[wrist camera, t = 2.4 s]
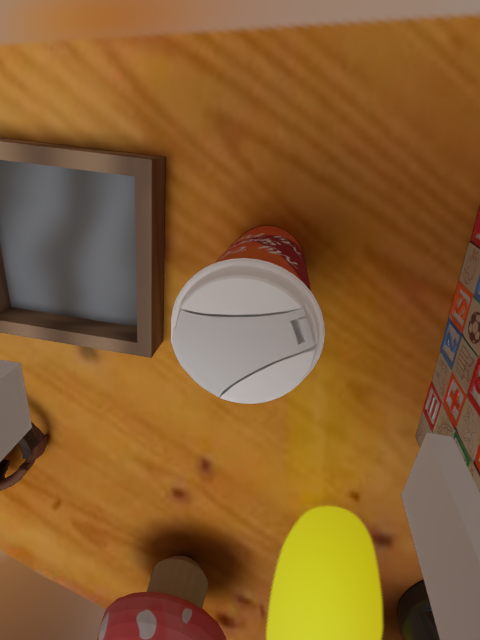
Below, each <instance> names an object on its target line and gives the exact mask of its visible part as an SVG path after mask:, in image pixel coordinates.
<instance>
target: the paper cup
mask: <svg viewBox="0 0 480 640" xmlns="http://www.w3.org/2000/svg"><path fill="white" fill-rule="evenodd" d="M324 338H325V328H324V321H323V316H322V312H321V310H320V307H319V304H318V302H317V301H316V299H315V297H314V295H313V294H312V292H311V289H310V284H309V279H308V274H307V269H306V265H305V261H304V257H303V253H302V250H301V248H300V246H299V244H298V242H297V241H296V239H295V238H294V237H293V236H292V235H291V234H290V233H288V232H287V231H285V230H283V229H281V228H278V227H275V226H260V227H256V228H253V229H251V230H249V231H248V232H246V233H245V234H243V235H242V236H241V237H240V238H239V239H238V240H237V241H236V242H235V243H234V244H233V245H232V246H231V247H230V248H229V249H228V250H227V251H226V252H225V253H224V254H223V255H222V256H221V257H220V258H219V259H218V260H217V261H216V262H215V263H214V264H212V265H209V266H207V267H206V268H204V269H202V270H201V271H199V272H197V273H196V274H195V275H194V276H193V277H192V278H191V279H189V280H188V282H187V283H186V284H185V285H184V287H183V288H182V289H181V291H180V293H179V295H178V296H177V298H176V301H175V304H174V307H173V311H172V318H171V342H172V345H173V349H174V352H175V355H176V357H177V359H178V361H179V363H180V364H181V366H182V367H183V368H184V370H185V371H186V372H187V373H188V374H189V375H190V376H191V378H192V379H193V380H195V381H196V382H197V383H198V384H199V385H200V386H202V387H203V388H205V389H206V390H207V391H209V392H211V393H212V394H214V395H216V396H217V397H219V398H221V399H224V400H228V401H231V402H237V403H247V404H254V403H262V402H267V401H271V400H274V399H277V398H279V397H281V396H283V395H285V394H287V393H288V392H290V391H291V390H293V389H294V388H295V387H296V386H297V385H299V384H300V383H301V382H302V380H303V379H304V378H305V377H306V376H307V375H308V374H309V373H310V372H311V370H312V369H313V368H314V366H315V365H316V363H317V361H318V359H319V357H320V355H321V352H322V349H323V344H324Z"/></svg>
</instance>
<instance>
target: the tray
mask: <svg viewBox="0 0 480 640" xmlns="http://www.w3.org/2000/svg"><path fill="white" fill-rule="evenodd" d="M165 182H166V157H159V156H151V155H142V154H134V153H125V152H117V151H109V150H100V149H92V148H83V147H75V146H67V145H58V144H50V143H42V142H33V141H25V140H16V139H8V138H0V333H6V334H12V335H18V336H24V337H30V338H36V339H42V340H48V341H54V342H60V343H66V344H72V345H78V346H84V347H90V348H96V349H102V350H108V351H114V352H120V353H126V354H132V355H138V356H144V357H150V358H152V356H153V355H154V353H155V352H156V350H157V349H158V347H159V346H160V344H161V343H162V342H163V306H164V244H165Z"/></svg>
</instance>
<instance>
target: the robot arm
mask: <svg viewBox="0 0 480 640" xmlns="http://www.w3.org/2000/svg"><path fill="white" fill-rule="evenodd" d="M31 428H32V424H31V418H30V413H29V407H28V401H27V396H26V390H25V385H24V379H23V373H22V368H21V363H17V362H11V361H5V360H0V462H1V461H2V460H3V459H4V457H5V456H6V455H7V454H8V453H9V452H10V451H11V450H12V449H13V448H14V446H15V445H16V444H17V443H18V442H19V441H20V440H21V439H22V438H23V437H24V436H25V434H26V433H27V432H28V431H29V430H30V429H31ZM401 496H402V500H403V504H404V508H405V511H406V515H407V519H408V523H409V526H410V530H411V534H412V537H413V541H414V545H415V549H416V552H417V556H418V560H419V564H420V567H421V571H422V575H423V578H424V581H423V582H421V583H419V584H417V585H415V586H414V587H412V588H411V589H410V590H408V591H407V592H406V593H405V594H404V595H403V597H402V598H401V600H400V602H399V604H398V608H397V616H398V621H399V626H400V631H401V636H402V639H403V640H480V492H479V490H478V488H477V486H476V484H475V482H474V480H473V478H472V475H471V473H470V471H469V469H468V467H467V465H466V463H465V461H464V459H463V457H462V455H461V453H460V451H459V449H458V447H457V445H456V443H455V441H454V439H453V437H450V436H444V435H439V434H433V433H426V435H425V438H424V440H423V443H422V445H421V448H420V450H419V453H418V455H417V458H416V460H415V463H414V465H413V468H412V470H411V473H410V475H409V477H408V480H407V482H406V485H405V487H404V490H403V492H402V495H401Z"/></svg>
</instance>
